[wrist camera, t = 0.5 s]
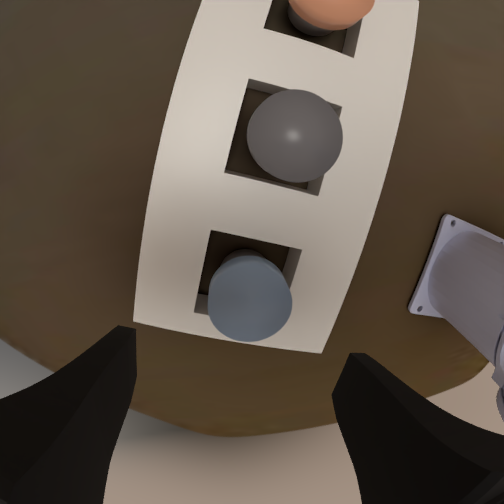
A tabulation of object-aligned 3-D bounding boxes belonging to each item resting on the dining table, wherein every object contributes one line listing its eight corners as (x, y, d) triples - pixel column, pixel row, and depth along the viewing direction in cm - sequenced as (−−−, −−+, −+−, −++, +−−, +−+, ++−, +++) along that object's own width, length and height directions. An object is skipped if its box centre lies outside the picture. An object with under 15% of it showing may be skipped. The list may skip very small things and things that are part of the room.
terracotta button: (350, 2, 13) (378, -25, 10) (339, 53, 15) (368, 32, 11) (287, -20, 13) (302, -54, 9) (271, 31, 14) (285, 1, 10)
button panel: (400, 12, 15) (419, 1, 12) (312, 332, 22) (321, 353, 19) (229, -45, 13) (230, -65, 10) (142, 301, 20) (133, 321, 17)
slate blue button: (286, 248, 18) (303, 277, 14) (268, 308, 19) (278, 346, 16) (218, 233, 18) (217, 259, 14) (204, 296, 19) (200, 334, 15)
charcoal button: (323, 114, 16) (352, 106, 12) (305, 181, 17) (329, 193, 13) (253, 93, 15) (262, 77, 11) (235, 163, 16) (238, 169, 12)
